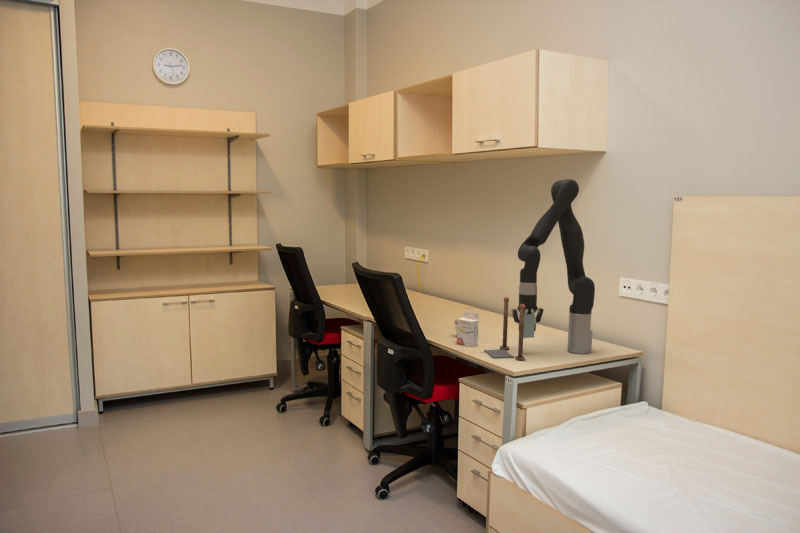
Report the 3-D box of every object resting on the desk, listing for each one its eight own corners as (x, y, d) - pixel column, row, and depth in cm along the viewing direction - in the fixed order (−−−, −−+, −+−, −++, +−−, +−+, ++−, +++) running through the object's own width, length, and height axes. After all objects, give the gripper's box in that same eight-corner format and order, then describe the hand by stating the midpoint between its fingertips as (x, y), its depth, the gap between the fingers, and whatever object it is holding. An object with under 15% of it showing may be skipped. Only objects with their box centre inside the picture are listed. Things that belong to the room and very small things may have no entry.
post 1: (507, 347, 267) (509, 296, 265) (510, 350, 263) (512, 297, 261) (498, 348, 266) (500, 296, 264) (501, 350, 262) (503, 297, 260)
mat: (503, 350, 262) (503, 349, 261) (513, 357, 250) (514, 356, 250) (483, 351, 260) (483, 350, 260) (493, 358, 248) (493, 357, 248)
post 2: (522, 358, 249) (525, 303, 247) (526, 360, 246) (528, 304, 243) (513, 358, 249) (515, 303, 246) (517, 361, 245) (519, 304, 242)
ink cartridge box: (456, 344, 273) (457, 312, 271) (462, 342, 277) (463, 310, 275) (471, 347, 267) (472, 314, 266) (478, 345, 271) (479, 313, 269)
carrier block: (529, 335, 259) (530, 312, 258) (534, 337, 254) (534, 314, 253) (520, 335, 258) (520, 312, 257) (524, 338, 254) (524, 314, 252)
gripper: (540, 291, 259) (539, 329, 261) (508, 291, 256) (507, 331, 258) (547, 293, 252) (546, 333, 254) (515, 294, 249) (514, 335, 251)
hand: (527, 332), depth 256 cm, fingers closed on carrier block, 4 cm apart
